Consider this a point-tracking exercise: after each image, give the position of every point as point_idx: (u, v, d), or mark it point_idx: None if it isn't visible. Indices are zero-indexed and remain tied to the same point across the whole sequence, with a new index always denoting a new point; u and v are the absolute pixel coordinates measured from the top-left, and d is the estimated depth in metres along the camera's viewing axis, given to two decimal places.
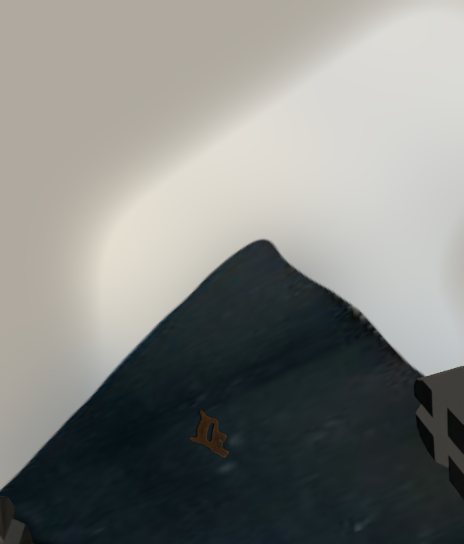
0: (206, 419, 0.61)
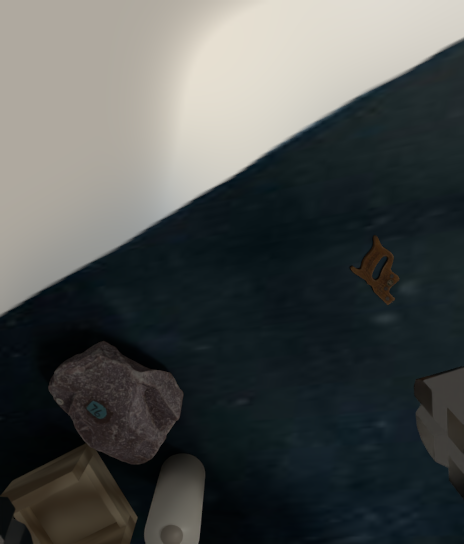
0: (380, 250, 0.44)
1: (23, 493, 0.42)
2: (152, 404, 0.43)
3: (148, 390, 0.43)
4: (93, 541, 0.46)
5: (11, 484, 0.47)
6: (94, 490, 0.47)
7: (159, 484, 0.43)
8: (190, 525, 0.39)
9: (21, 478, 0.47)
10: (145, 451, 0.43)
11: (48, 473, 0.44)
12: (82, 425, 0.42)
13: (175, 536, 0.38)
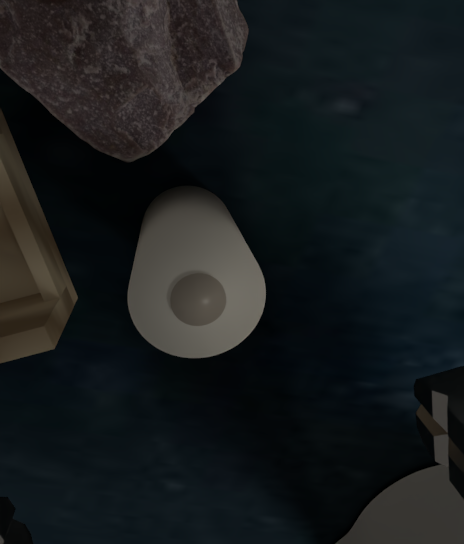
0: None
1: None
2: (183, 11, 0.17)
3: None
4: None
5: None
6: None
7: (159, 212, 0.19)
8: (249, 284, 0.16)
9: None
10: (140, 127, 0.18)
11: None
12: None
13: (208, 302, 0.15)
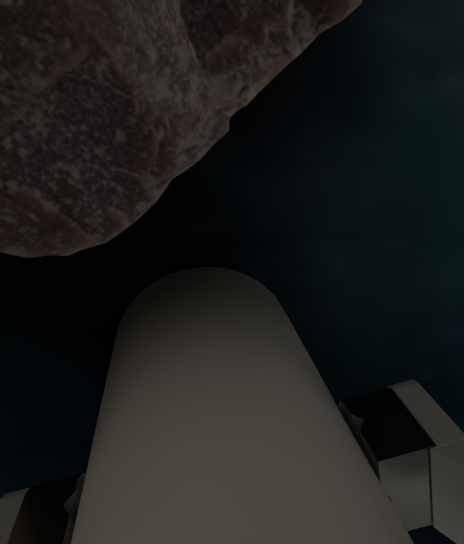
0: None
1: None
2: None
3: None
4: None
5: None
6: None
7: (144, 379, 0.07)
8: None
9: None
10: (77, 177, 0.06)
11: None
12: None
13: None
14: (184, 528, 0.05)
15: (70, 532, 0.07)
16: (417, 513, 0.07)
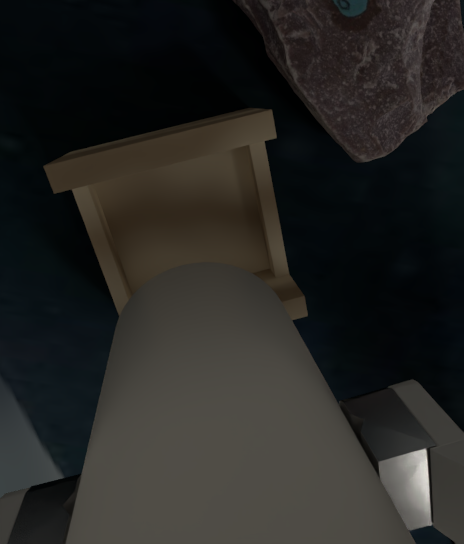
0: None
1: (142, 140, 0.19)
2: (434, 37, 0.20)
3: (438, 1, 0.20)
4: None
5: (75, 151, 0.22)
6: (236, 204, 0.24)
7: (142, 373, 0.07)
8: None
9: (97, 146, 0.23)
10: (387, 133, 0.21)
11: (182, 128, 0.21)
12: (295, 24, 0.19)
13: None
14: (180, 521, 0.04)
15: None
16: (417, 513, 0.07)
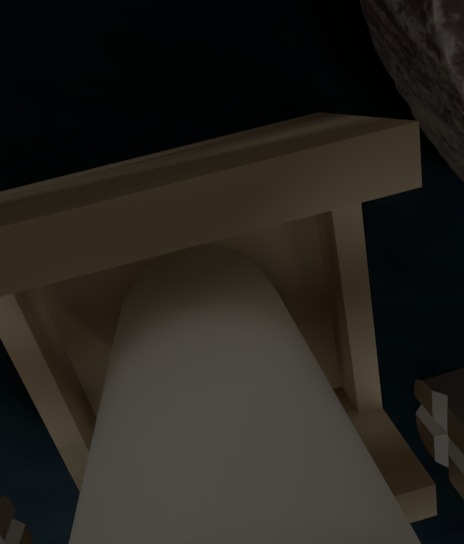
0: None
1: (104, 195, 0.08)
2: None
3: None
4: None
5: None
6: (290, 287, 0.14)
7: (148, 331, 0.09)
8: None
9: (29, 187, 0.12)
10: None
11: (197, 157, 0.10)
12: None
13: None
14: (181, 423, 0.06)
15: None
16: None
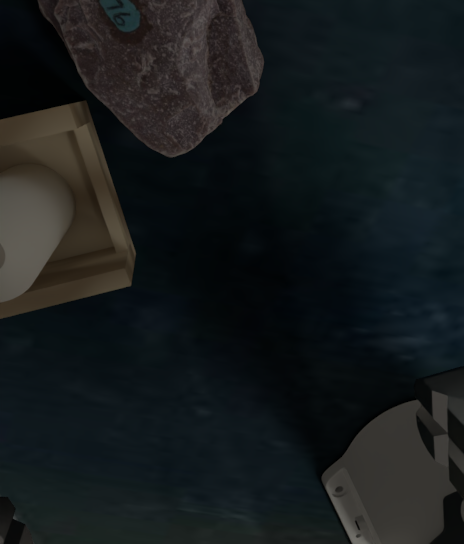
0: None
1: None
2: (218, 49, 0.23)
3: (218, 18, 0.23)
4: (66, 265, 0.28)
5: None
6: (79, 187, 0.27)
7: None
8: (23, 242, 0.19)
9: None
10: (182, 133, 0.24)
11: None
12: (81, 37, 0.21)
13: None
14: None
15: None
16: None
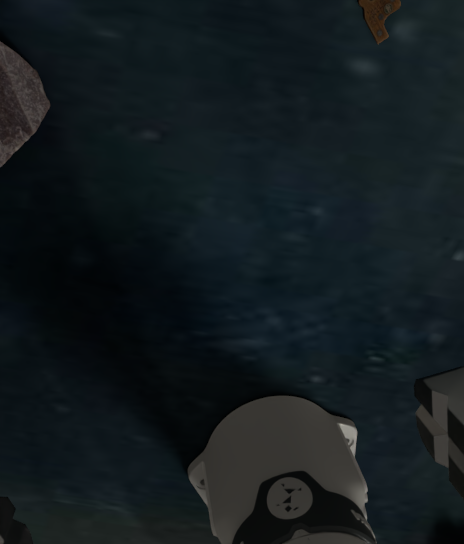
0: None
1: None
2: None
3: None
4: None
5: None
6: None
7: None
8: None
9: None
10: None
11: None
12: None
13: None
14: None
15: None
16: None
